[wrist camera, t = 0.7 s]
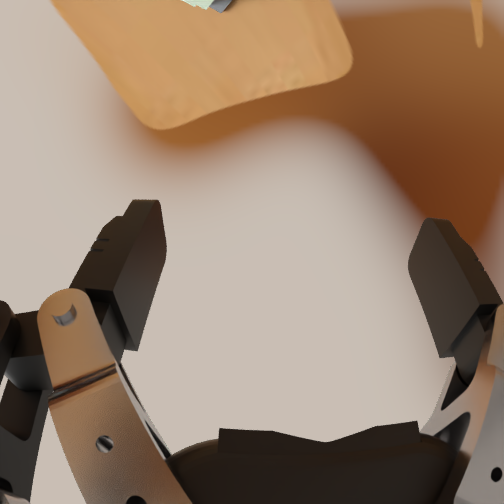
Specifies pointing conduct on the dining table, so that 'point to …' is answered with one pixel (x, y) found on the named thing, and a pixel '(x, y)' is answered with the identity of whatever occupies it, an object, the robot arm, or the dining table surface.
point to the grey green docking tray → (210, 4)
